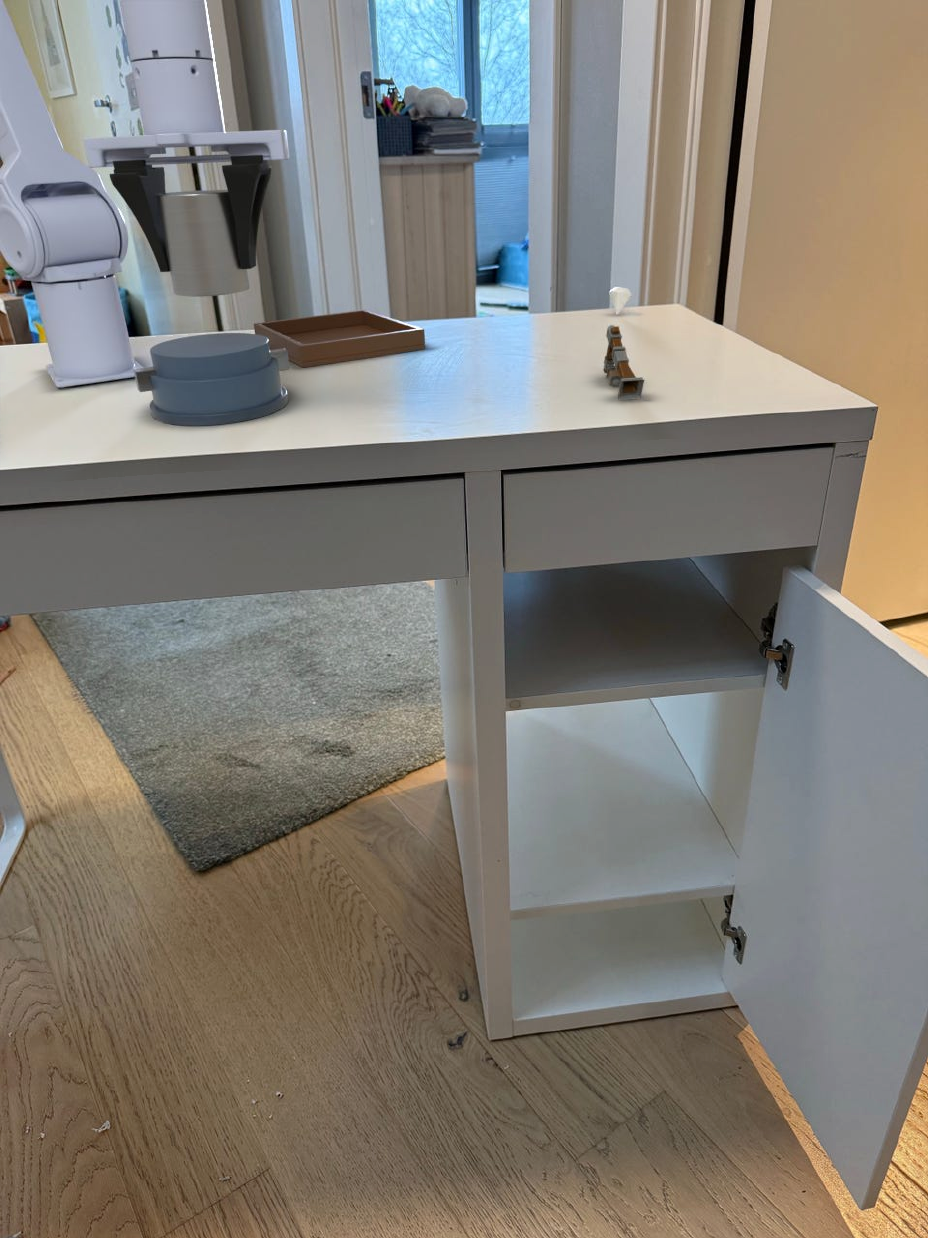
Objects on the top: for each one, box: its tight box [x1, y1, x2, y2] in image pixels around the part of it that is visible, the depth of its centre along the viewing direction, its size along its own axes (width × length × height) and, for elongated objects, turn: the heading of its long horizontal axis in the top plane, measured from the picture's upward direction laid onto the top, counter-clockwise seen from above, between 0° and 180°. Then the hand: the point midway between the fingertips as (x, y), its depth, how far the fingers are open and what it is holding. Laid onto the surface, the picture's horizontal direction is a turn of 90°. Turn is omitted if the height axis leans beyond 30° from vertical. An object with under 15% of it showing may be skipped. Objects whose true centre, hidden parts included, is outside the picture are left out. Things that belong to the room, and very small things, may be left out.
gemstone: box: [608, 286, 634, 315], centre depth 100 cm, size 3×3×3 cm
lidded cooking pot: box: [134, 332, 291, 427], centre depth 69 cm, size 11×12×5 cm
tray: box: [253, 309, 426, 368], centre depth 90 cm, size 15×13×2 cm
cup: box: [156, 189, 250, 298], centre depth 66 cm, size 6×6×7 cm
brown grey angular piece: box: [602, 324, 645, 401], centre depth 71 cm, size 2×8×4 cm, turn 6°
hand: (208, 268), depth 67 cm, fingers closed on cup, 6 cm apart
